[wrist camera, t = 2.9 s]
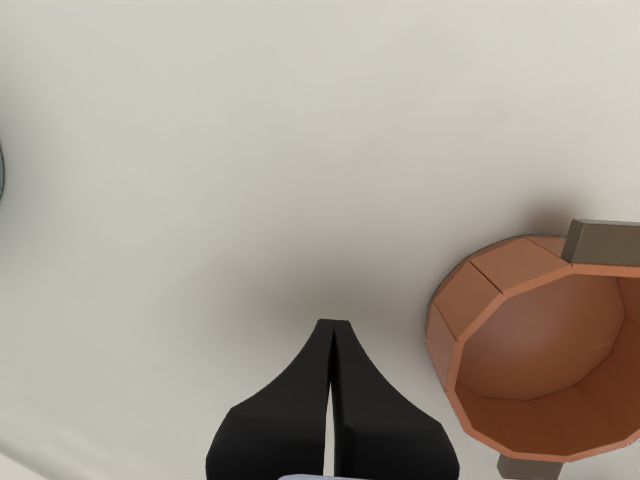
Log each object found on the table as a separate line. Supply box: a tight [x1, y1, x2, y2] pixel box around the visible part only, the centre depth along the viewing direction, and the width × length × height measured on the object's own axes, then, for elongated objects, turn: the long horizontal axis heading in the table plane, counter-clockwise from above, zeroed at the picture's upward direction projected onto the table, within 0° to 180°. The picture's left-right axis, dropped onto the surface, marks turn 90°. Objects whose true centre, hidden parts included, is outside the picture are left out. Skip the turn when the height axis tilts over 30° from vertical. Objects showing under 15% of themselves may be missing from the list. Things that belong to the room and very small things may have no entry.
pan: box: [425, 219, 640, 480], centre depth 14 cm, size 9×12×4 cm
